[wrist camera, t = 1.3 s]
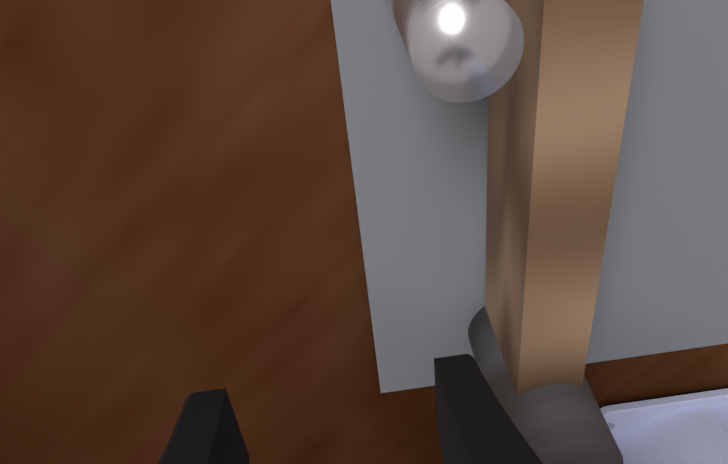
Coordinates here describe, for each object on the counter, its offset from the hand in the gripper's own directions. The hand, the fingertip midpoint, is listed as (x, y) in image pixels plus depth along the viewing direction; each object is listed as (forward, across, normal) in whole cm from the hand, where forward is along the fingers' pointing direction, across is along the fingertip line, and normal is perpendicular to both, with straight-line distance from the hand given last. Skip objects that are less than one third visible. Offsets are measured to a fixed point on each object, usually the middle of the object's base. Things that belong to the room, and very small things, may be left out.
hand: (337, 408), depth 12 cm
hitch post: (+9, -3, -5) cm, 11 cm away
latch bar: (+9, -6, +1) cm, 11 cm away
